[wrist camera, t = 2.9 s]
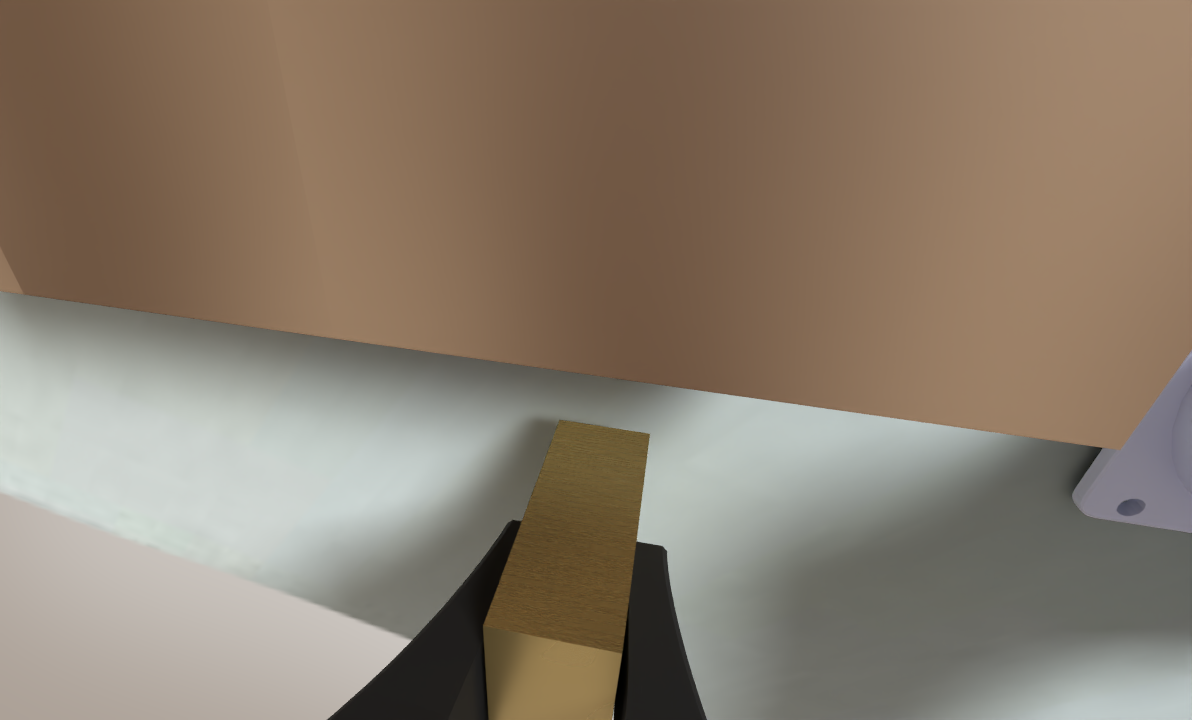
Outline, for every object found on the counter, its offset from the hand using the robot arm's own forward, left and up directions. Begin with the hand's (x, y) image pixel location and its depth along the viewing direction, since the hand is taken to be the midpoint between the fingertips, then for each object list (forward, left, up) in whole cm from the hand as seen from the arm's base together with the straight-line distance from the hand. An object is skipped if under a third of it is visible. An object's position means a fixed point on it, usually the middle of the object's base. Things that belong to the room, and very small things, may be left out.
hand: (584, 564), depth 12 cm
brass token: (0, 0, -2) cm, 2 cm away
